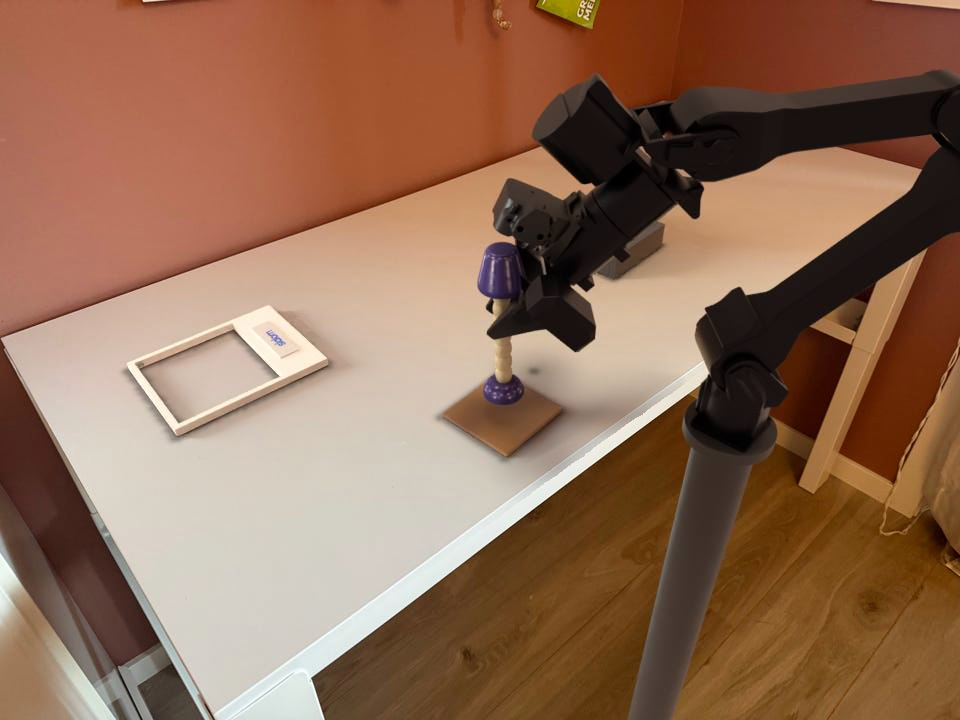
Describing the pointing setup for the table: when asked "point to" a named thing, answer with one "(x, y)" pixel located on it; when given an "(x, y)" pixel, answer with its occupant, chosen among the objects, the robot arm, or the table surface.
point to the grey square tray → (636, 251)
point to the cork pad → (502, 419)
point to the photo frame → (266, 338)
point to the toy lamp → (500, 285)
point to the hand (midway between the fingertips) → (489, 323)
